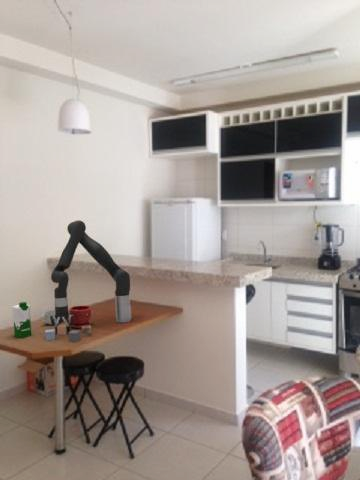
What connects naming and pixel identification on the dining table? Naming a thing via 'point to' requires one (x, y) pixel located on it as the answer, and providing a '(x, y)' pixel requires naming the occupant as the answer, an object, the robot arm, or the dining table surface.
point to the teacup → (48, 316)
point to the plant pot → (80, 316)
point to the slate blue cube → (50, 334)
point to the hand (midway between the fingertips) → (62, 332)
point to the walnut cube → (86, 331)
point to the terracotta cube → (62, 329)
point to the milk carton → (22, 320)
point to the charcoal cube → (74, 336)
